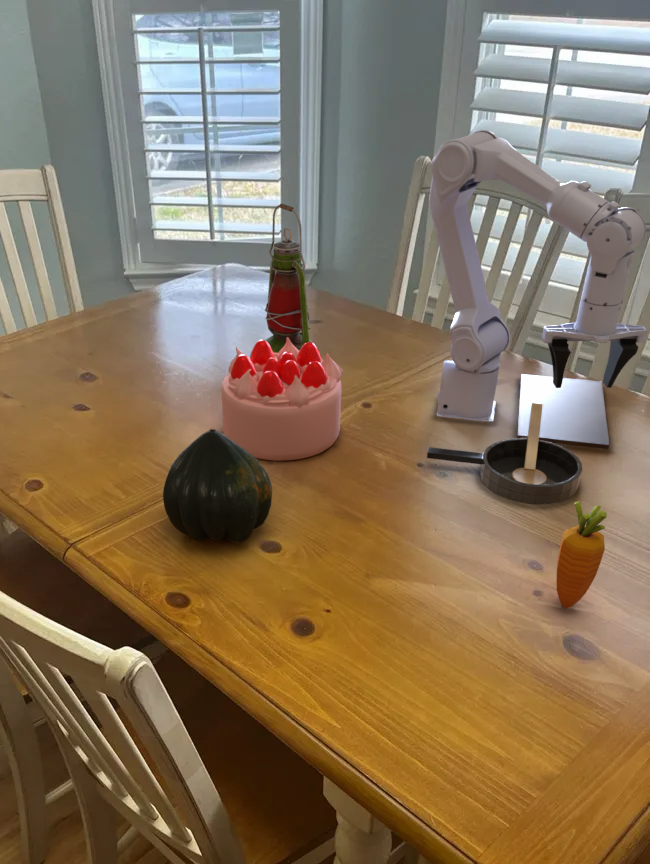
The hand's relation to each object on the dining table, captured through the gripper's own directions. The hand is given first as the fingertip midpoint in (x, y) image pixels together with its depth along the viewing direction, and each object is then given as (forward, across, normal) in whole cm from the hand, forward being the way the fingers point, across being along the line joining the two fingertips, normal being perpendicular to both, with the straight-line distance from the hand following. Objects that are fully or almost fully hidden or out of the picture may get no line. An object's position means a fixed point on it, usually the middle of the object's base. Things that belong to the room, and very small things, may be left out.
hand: (581, 385), depth 127 cm
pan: (+10, -9, -12) cm, 18 cm away
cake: (+10, -47, +3) cm, 48 cm away
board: (+10, +1, +10) cm, 15 cm away
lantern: (+11, -46, +31) cm, 57 cm away
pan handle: (+8, -20, -9) cm, 23 cm away
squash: (+10, -55, -24) cm, 61 cm away
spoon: (+10, -8, -8) cm, 15 cm away
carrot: (+10, -11, -41) cm, 44 cm away
